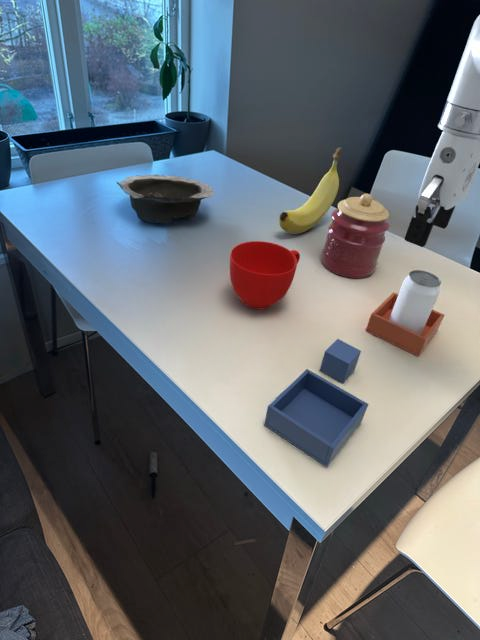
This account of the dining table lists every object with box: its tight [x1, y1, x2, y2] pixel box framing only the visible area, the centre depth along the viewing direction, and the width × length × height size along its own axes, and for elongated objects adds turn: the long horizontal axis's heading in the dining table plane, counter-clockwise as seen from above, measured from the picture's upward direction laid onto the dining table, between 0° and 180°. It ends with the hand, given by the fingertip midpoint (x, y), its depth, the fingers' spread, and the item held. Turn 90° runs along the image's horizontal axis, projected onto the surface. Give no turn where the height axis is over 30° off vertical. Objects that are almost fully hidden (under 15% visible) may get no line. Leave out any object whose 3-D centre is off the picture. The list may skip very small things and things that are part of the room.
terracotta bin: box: [365, 291, 446, 357], centre depth 87 cm, size 11×11×4 cm
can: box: [389, 269, 442, 335], centre depth 83 cm, size 6×6×12 cm
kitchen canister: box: [321, 193, 391, 279], centre depth 102 cm, size 13×13×18 cm
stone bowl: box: [116, 174, 215, 224], centre depth 118 cm, size 25×25×9 cm
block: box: [319, 338, 362, 384], centre depth 75 cm, size 4×4×4 cm
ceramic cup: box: [229, 240, 301, 310], centre depth 89 cm, size 13×17×10 cm
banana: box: [278, 146, 343, 235], centre depth 115 cm, size 23×6×20 cm, turn 138°
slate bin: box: [263, 368, 370, 468], centre depth 65 cm, size 11×11×4 cm
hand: (425, 233), depth 71 cm, fingers open, 9 cm apart
